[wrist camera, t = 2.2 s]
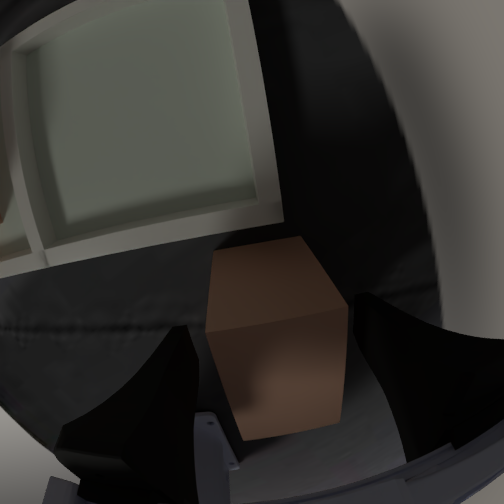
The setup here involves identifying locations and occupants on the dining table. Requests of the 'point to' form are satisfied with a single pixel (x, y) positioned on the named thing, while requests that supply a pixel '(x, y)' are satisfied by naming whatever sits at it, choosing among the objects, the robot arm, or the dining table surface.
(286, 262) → the loose block
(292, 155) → the dining table surface
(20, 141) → the divided tray
